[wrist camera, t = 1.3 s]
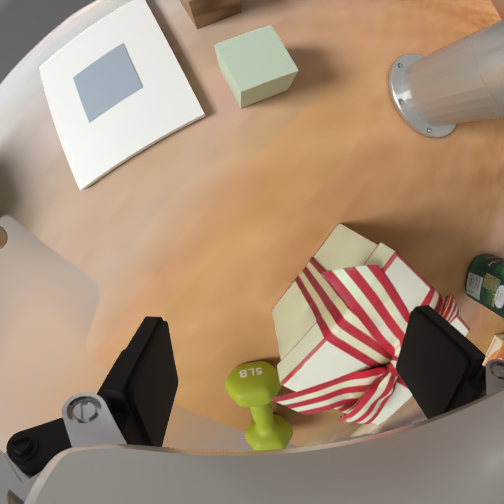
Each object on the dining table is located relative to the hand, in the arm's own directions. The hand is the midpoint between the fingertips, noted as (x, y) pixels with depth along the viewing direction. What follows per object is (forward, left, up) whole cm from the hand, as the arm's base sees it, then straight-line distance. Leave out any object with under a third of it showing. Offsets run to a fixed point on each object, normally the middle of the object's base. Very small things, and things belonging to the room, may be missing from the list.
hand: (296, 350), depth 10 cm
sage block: (-7, -16, -25) cm, 30 cm away
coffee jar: (-32, +24, -25) cm, 47 cm away
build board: (+9, -25, -25) cm, 36 cm away
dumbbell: (+11, +25, -25) cm, 37 cm away
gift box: (-5, +13, -25) cm, 28 cm away
